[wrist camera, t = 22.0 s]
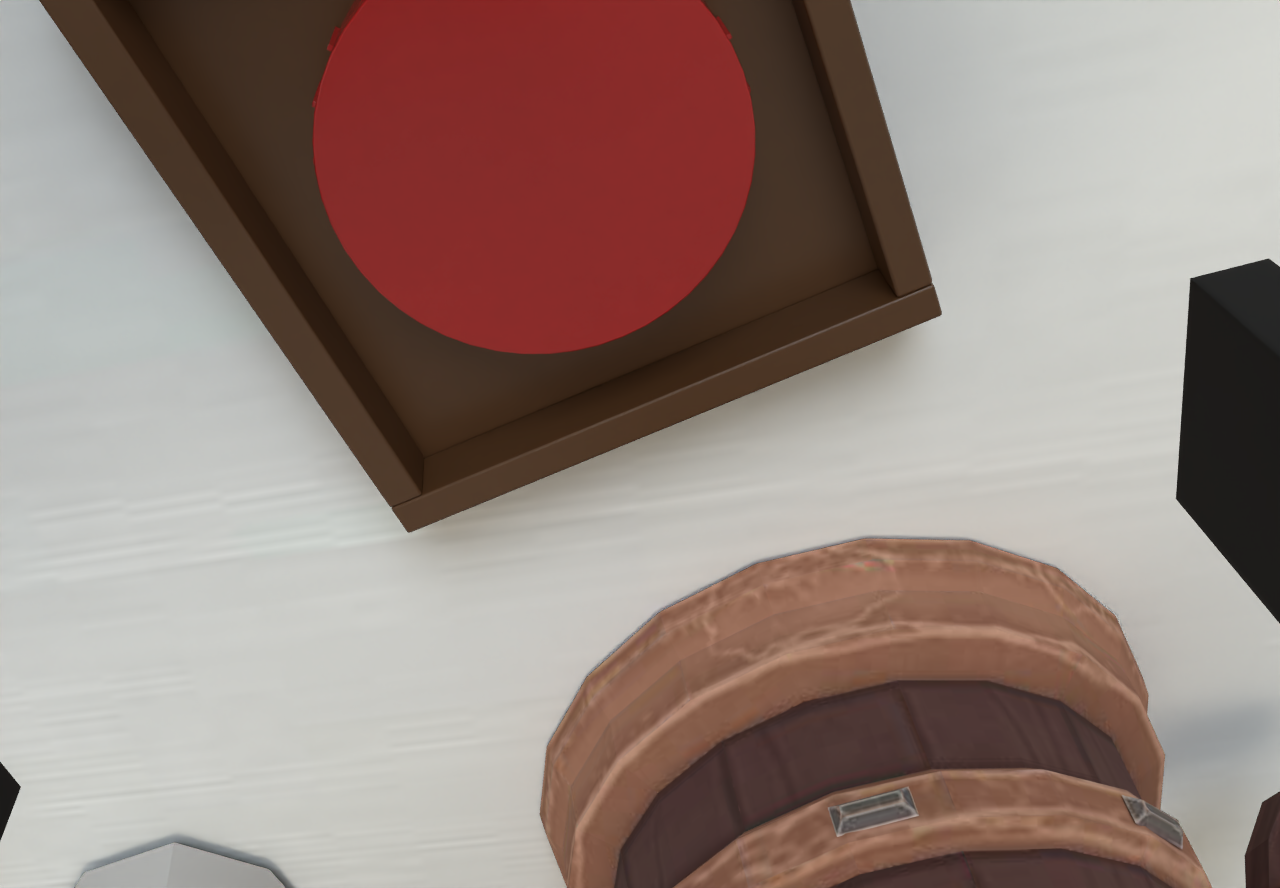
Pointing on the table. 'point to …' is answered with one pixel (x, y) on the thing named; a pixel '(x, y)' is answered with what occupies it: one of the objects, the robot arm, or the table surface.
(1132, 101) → the table surface
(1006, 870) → the mug
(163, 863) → the flask
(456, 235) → the lid
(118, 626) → the table surface
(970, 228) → the table surface
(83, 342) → the table surface
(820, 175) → the tray
